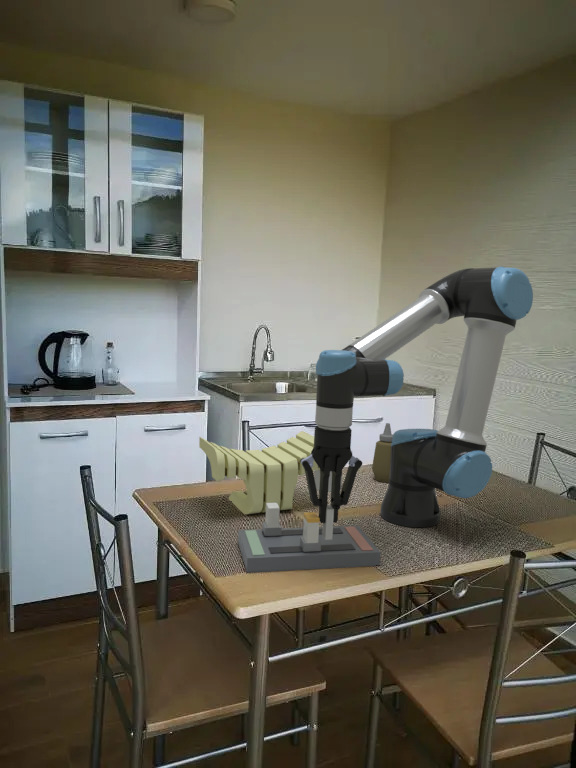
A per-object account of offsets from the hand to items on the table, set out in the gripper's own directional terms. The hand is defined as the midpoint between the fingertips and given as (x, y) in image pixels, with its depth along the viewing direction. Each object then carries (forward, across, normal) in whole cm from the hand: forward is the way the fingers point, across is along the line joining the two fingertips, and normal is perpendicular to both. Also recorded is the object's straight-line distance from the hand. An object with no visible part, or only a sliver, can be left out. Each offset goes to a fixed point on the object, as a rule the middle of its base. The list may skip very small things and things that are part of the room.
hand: (327, 536), depth 125 cm
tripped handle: (+2, +4, 0) cm, 4 cm away
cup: (+6, -14, -50) cm, 52 cm away
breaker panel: (+6, +3, -5) cm, 8 cm away
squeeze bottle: (+6, -34, -56) cm, 66 cm away
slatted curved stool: (+6, +8, -36) cm, 37 cm away
